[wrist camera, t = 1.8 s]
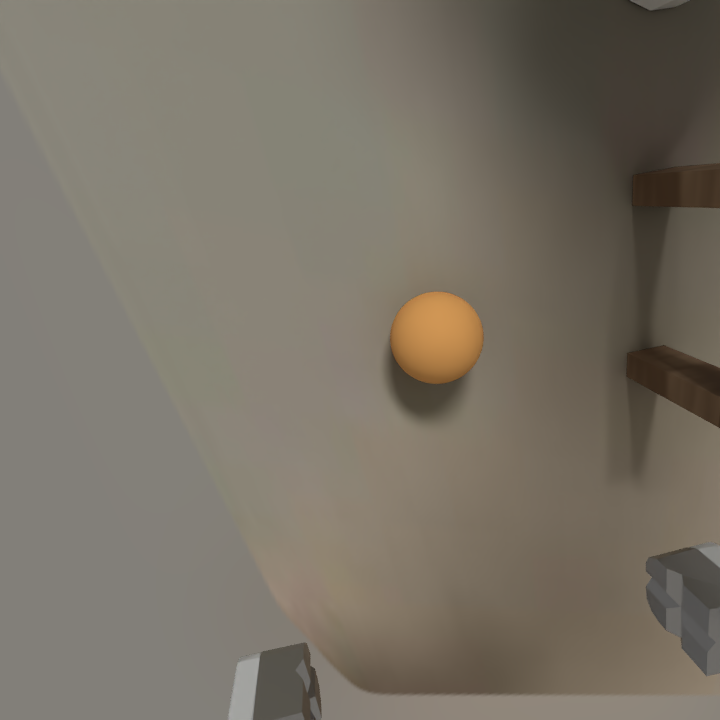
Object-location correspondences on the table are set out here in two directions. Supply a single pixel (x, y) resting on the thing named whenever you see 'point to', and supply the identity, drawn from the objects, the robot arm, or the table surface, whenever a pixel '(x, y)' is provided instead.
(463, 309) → the ball
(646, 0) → the white cup
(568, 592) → the table surface
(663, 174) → the bridge
